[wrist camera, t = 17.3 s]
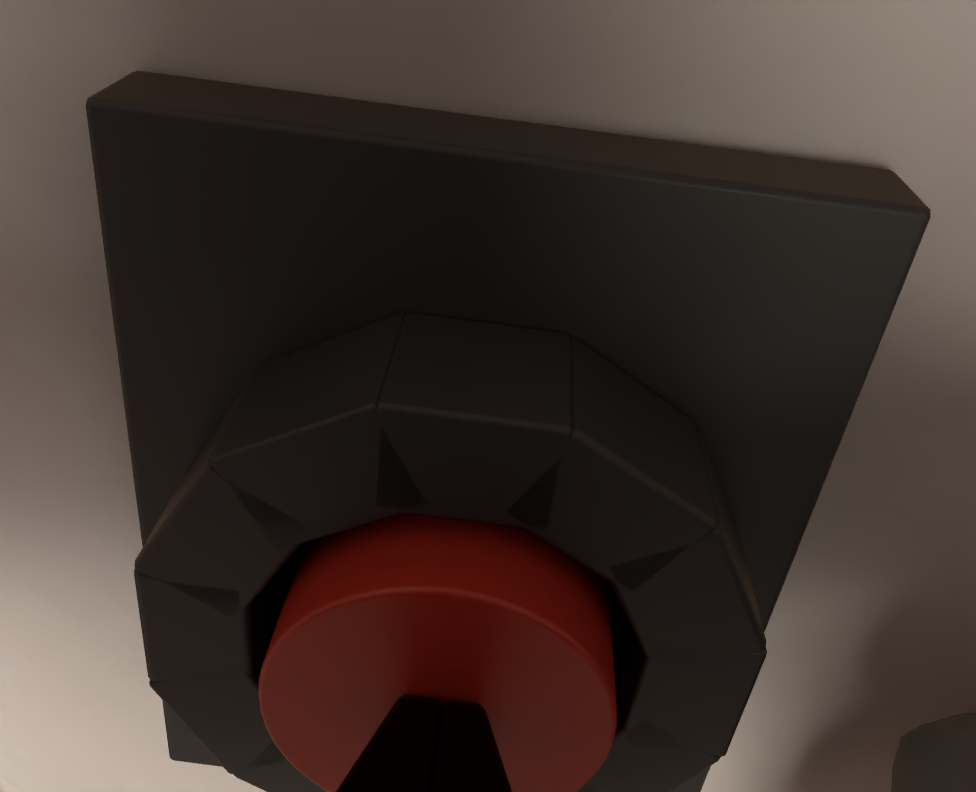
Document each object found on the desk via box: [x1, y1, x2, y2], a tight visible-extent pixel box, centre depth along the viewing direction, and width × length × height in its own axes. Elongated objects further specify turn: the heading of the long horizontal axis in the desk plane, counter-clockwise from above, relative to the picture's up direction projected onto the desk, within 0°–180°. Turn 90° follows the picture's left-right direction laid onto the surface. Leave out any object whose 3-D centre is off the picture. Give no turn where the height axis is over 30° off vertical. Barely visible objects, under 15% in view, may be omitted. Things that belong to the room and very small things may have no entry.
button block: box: [86, 71, 930, 792], centre depth 11 cm, size 10×8×3 cm
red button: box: [258, 512, 617, 792], centre depth 10 cm, size 4×4×2 cm
